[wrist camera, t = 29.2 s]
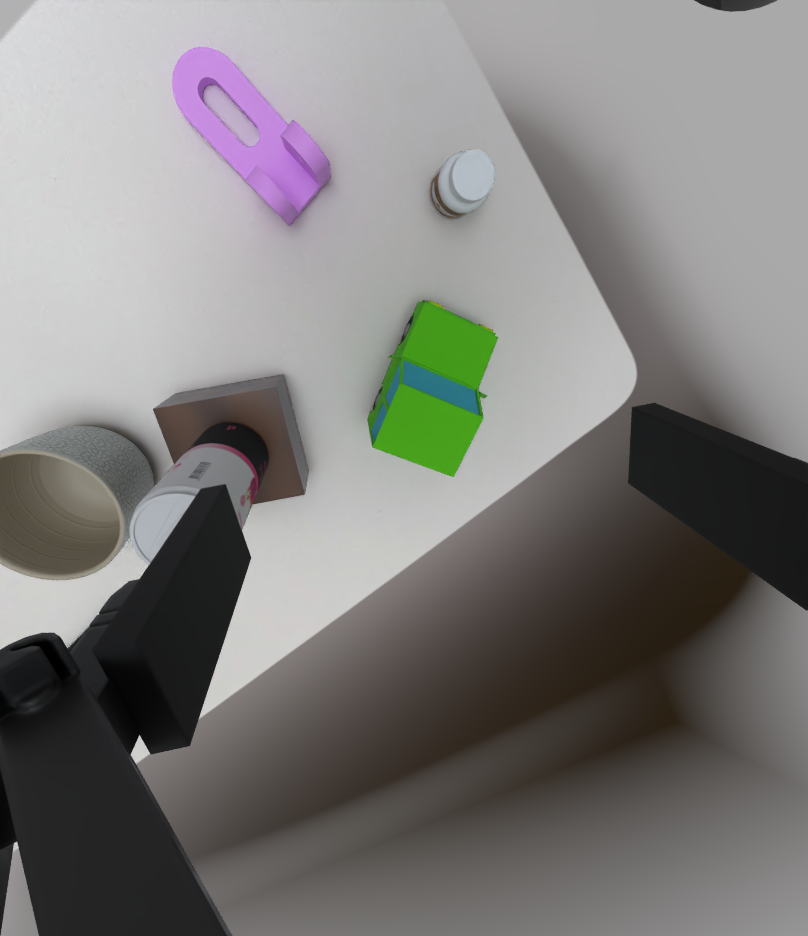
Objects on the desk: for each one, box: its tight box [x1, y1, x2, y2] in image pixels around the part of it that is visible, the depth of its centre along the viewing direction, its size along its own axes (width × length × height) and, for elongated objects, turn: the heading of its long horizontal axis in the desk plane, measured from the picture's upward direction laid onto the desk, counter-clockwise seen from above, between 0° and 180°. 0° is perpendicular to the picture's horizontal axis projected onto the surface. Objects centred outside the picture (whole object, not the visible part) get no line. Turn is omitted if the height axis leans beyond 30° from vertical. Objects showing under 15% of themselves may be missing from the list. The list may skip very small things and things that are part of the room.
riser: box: [153, 374, 309, 504], centre depth 46 cm, size 11×11×6 cm
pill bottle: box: [429, 149, 495, 219], centre depth 39 cm, size 4×4×8 cm
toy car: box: [367, 300, 498, 477], centre depth 44 cm, size 10×13×10 cm
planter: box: [0, 426, 154, 580], centre depth 43 cm, size 12×12×11 cm
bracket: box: [172, 47, 331, 226], centre depth 36 cm, size 13×6×7 cm, turn 44°
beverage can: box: [130, 423, 269, 565], centre depth 36 cm, size 7×7×15 cm
